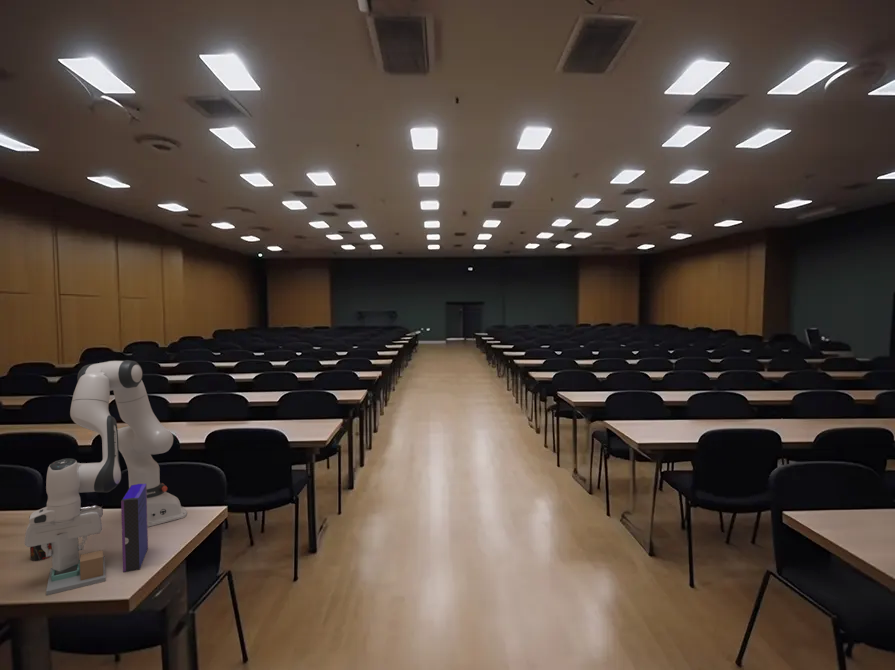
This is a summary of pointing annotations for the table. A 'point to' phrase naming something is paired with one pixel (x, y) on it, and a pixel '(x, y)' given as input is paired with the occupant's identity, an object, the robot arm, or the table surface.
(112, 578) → the table surface
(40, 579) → the table surface
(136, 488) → the cereal box
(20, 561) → the table surface
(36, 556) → the deodorant
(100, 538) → the table surface
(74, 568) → the grey board with block
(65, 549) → the skincare box
